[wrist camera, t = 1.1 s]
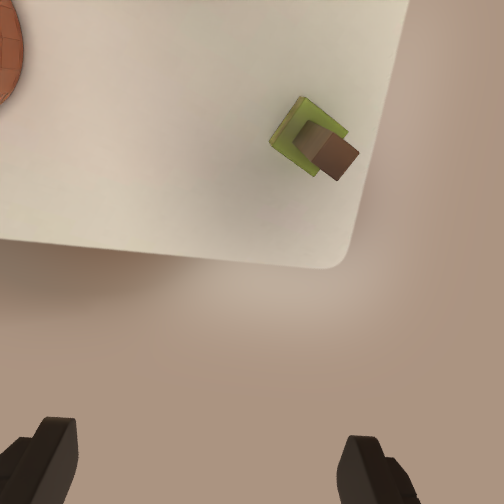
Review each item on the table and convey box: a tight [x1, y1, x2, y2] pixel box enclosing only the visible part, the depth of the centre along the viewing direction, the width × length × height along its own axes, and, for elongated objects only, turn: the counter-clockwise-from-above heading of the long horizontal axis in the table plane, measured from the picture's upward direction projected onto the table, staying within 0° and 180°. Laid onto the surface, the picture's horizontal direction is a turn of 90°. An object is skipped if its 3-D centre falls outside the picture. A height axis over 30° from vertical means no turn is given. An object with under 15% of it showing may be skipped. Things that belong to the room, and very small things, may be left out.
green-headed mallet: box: [269, 96, 359, 181], centre depth 30 cm, size 5×5×12 cm
